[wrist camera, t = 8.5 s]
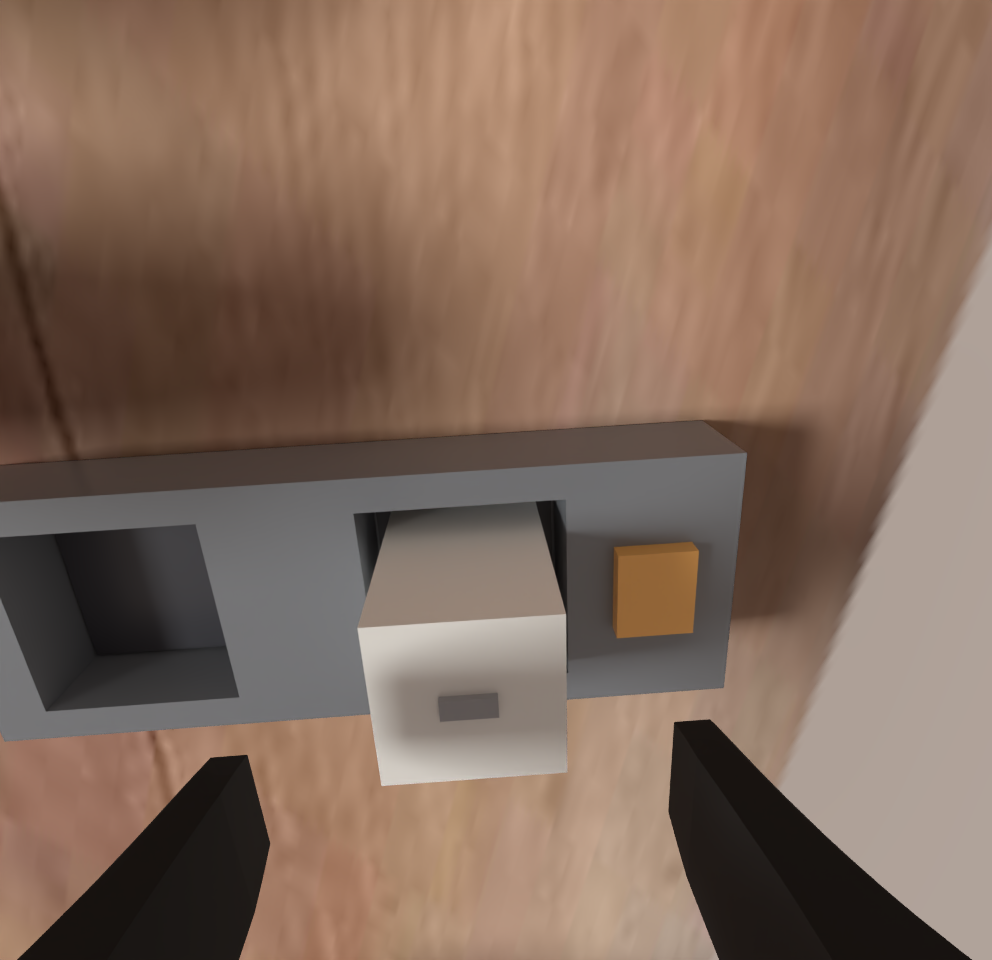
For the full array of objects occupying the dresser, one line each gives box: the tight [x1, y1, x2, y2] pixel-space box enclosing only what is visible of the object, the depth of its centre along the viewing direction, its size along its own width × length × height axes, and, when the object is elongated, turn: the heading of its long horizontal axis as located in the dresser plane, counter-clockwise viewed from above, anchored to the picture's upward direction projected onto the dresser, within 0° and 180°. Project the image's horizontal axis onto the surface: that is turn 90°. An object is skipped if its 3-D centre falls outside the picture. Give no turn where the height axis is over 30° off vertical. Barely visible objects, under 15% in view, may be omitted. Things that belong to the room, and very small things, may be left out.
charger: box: [357, 502, 567, 786], centre depth 15 cm, size 4×4×6 cm
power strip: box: [0, 420, 747, 741], centre depth 17 cm, size 20×7×4 cm, turn 93°
